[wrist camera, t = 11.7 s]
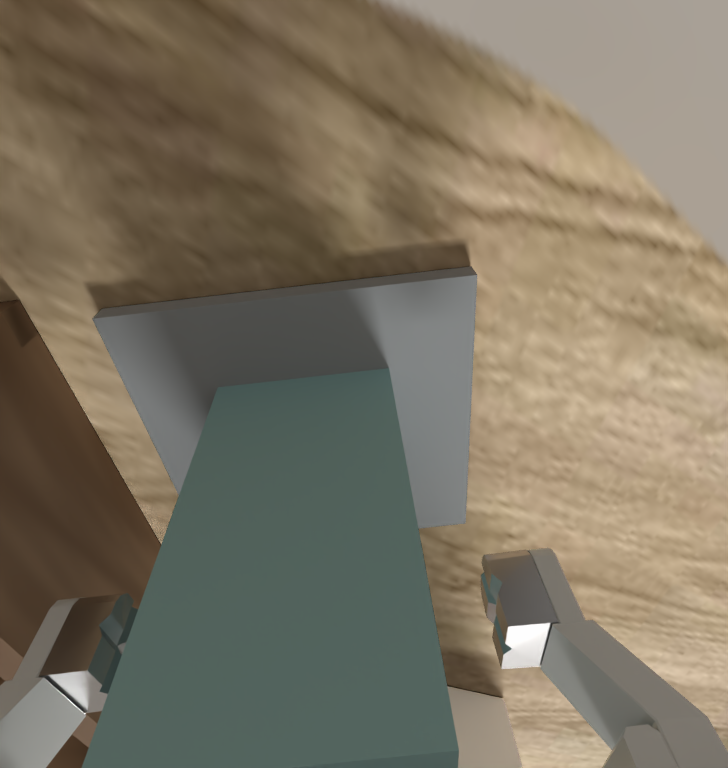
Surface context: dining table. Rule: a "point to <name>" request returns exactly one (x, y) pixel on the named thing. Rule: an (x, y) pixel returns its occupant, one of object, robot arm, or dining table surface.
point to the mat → (313, 363)
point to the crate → (57, 508)
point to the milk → (483, 731)
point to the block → (287, 597)
